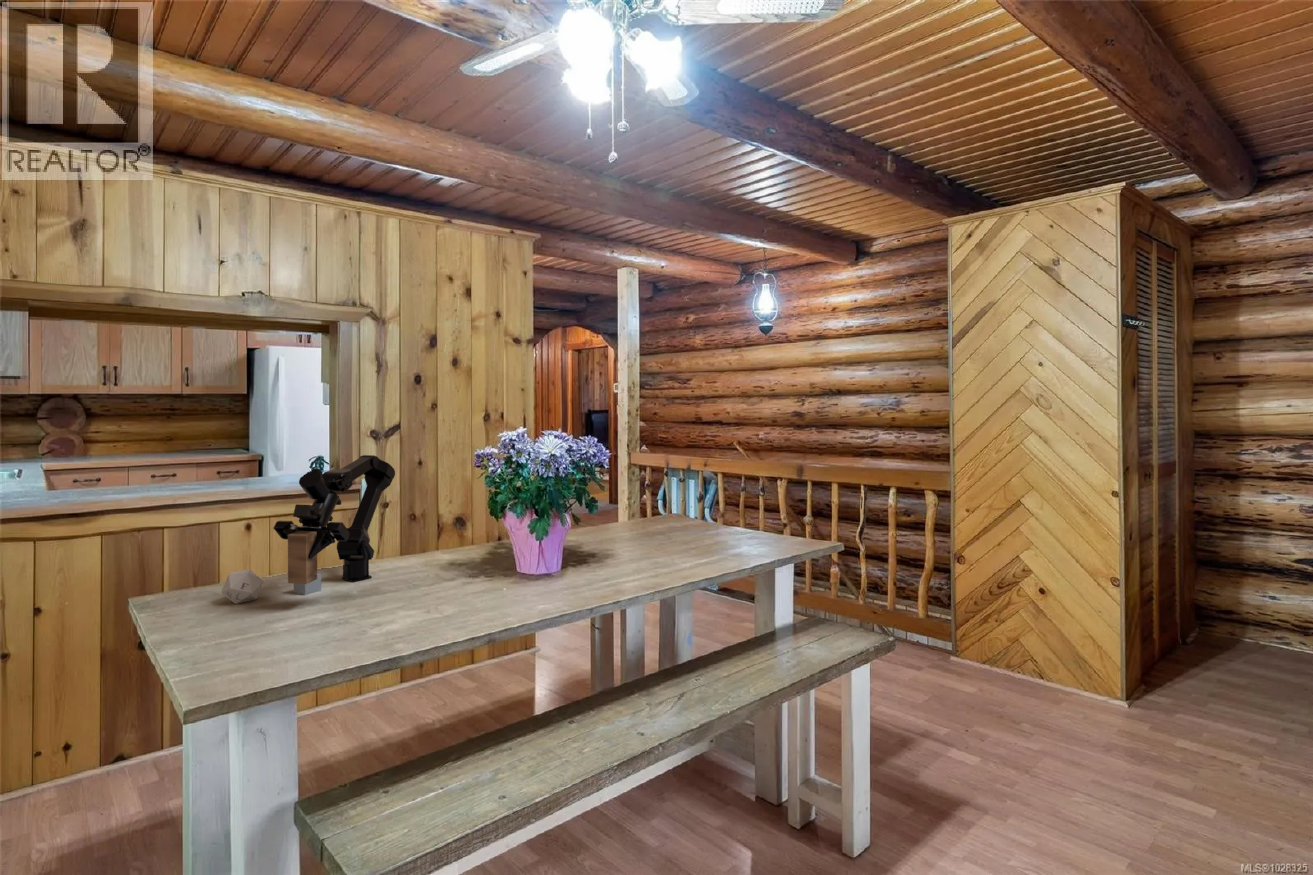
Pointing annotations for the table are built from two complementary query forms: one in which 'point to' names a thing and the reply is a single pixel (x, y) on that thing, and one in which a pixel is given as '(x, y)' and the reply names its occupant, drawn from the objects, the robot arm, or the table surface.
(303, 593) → the slate cube
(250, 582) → the die
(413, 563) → the table surface
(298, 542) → the walnut block
